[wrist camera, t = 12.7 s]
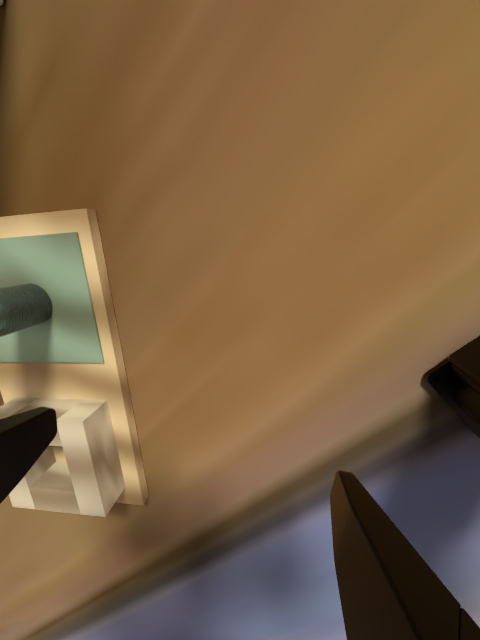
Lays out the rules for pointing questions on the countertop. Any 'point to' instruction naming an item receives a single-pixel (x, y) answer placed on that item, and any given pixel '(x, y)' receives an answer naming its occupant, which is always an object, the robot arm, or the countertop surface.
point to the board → (70, 368)
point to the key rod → (23, 307)
